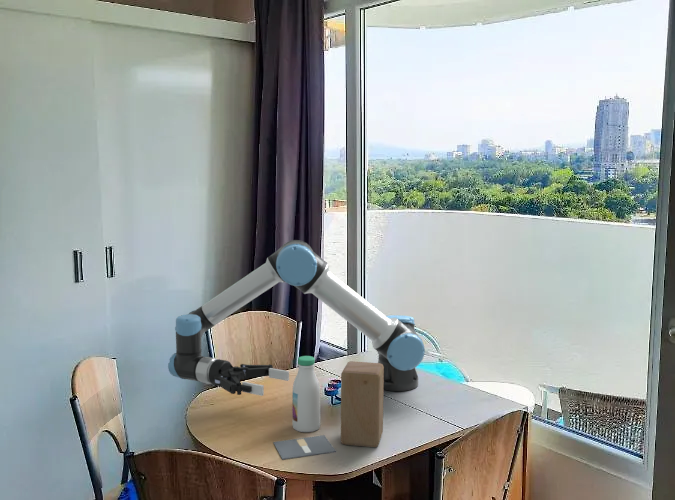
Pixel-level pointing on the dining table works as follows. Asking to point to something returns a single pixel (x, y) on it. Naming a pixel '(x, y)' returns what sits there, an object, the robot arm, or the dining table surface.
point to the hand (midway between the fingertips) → (276, 383)
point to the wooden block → (362, 403)
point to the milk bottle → (306, 397)
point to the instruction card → (304, 447)
